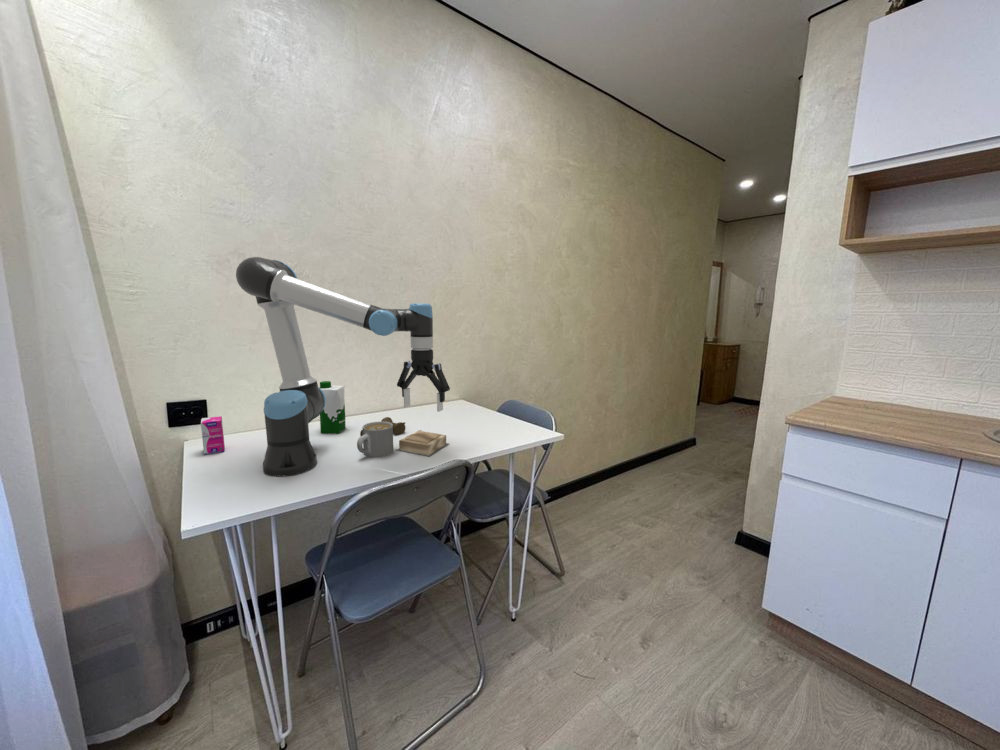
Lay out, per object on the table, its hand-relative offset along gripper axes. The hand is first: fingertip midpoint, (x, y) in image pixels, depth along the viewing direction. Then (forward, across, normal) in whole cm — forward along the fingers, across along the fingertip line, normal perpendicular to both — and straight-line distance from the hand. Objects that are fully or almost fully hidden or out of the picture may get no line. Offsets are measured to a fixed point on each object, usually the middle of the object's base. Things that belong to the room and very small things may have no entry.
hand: (423, 408), depth 140 cm
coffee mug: (+15, +12, +12) cm, 23 cm away
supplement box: (+14, +63, +33) cm, 73 cm away
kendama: (+15, +21, -6) cm, 27 cm away
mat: (+15, 0, 0) cm, 15 cm away
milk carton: (+15, +43, -1) cm, 46 cm away
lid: (+14, 0, 0) cm, 14 cm away
